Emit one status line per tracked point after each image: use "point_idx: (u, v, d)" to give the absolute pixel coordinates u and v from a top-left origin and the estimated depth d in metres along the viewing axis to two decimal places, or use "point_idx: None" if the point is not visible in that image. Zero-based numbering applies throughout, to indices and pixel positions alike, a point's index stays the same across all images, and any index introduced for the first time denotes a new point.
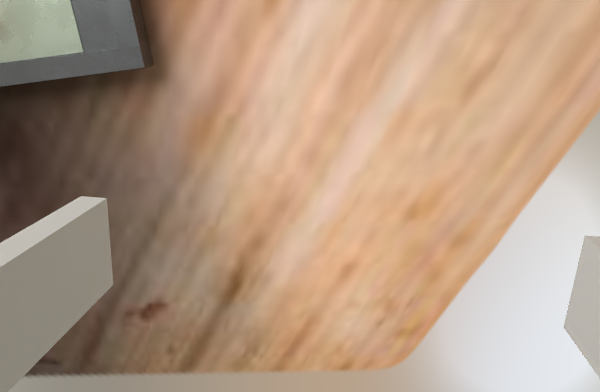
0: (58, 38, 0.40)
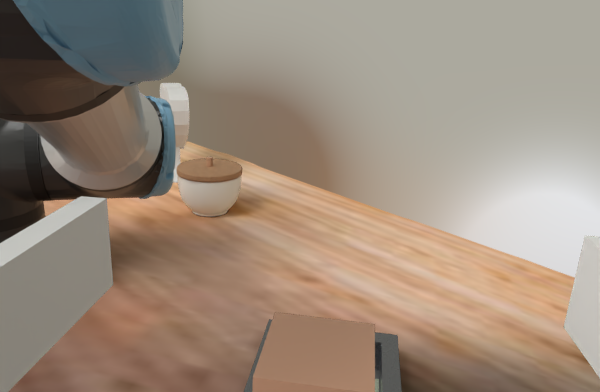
0: None
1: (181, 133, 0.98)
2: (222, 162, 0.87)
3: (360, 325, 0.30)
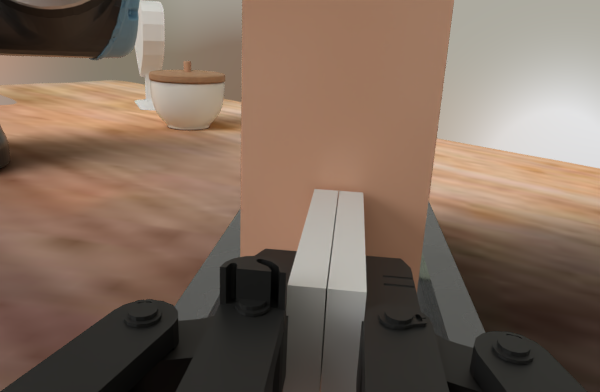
0: None
1: (156, 52, 0.87)
2: (202, 71, 0.75)
3: None
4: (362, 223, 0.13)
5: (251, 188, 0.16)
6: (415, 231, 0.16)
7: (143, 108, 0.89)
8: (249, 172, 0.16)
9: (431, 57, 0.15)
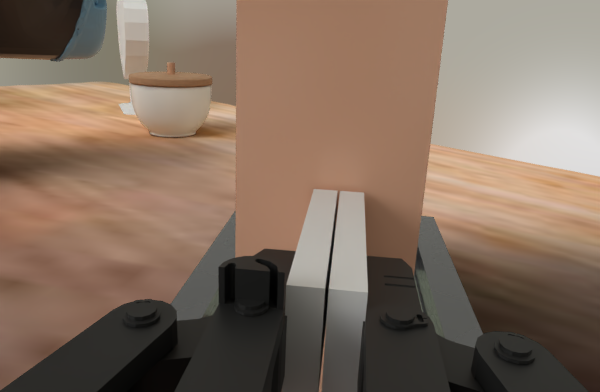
0: None
1: (140, 53, 0.81)
2: (188, 73, 0.70)
3: None
4: (363, 223, 0.13)
5: (246, 185, 0.16)
6: (410, 228, 0.16)
7: (127, 112, 0.83)
8: (243, 169, 0.16)
9: (425, 54, 0.15)
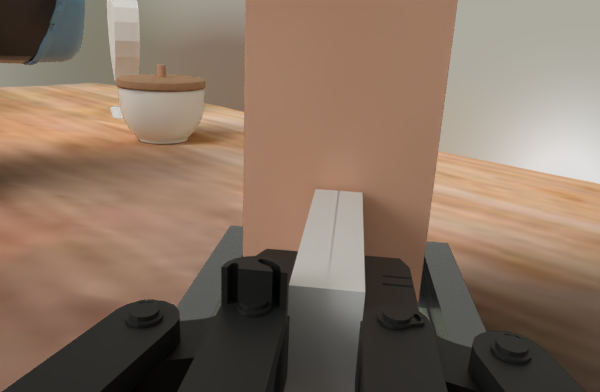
0: None
1: (131, 54, 0.77)
2: (179, 75, 0.66)
3: None
4: (361, 223, 0.13)
5: (254, 190, 0.16)
6: (418, 233, 0.16)
7: (117, 116, 0.79)
8: (252, 174, 0.16)
9: (434, 59, 0.15)
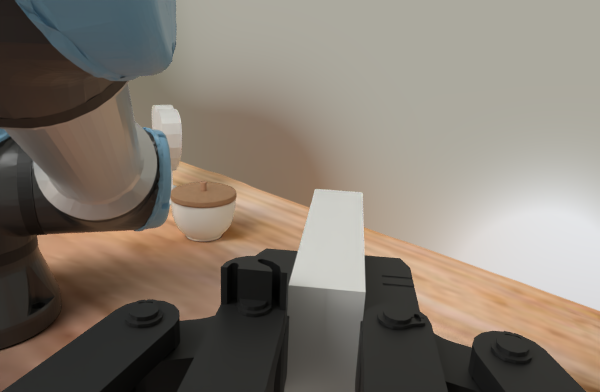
0: None
1: (174, 156, 0.97)
2: (216, 186, 0.86)
3: None
4: (361, 223, 0.13)
5: None
6: None
7: None
8: None
9: None
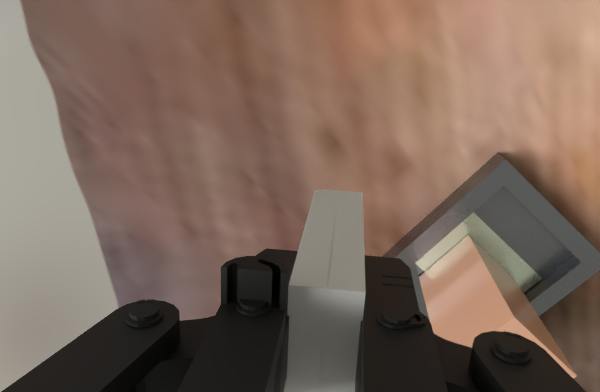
0: (517, 280, 0.46)
1: None
2: None
3: None
4: (361, 223, 0.13)
5: None
6: None
7: None
8: (433, 329, 0.39)
9: None
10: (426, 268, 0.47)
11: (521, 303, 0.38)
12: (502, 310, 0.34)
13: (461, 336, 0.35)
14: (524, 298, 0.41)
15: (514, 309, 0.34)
